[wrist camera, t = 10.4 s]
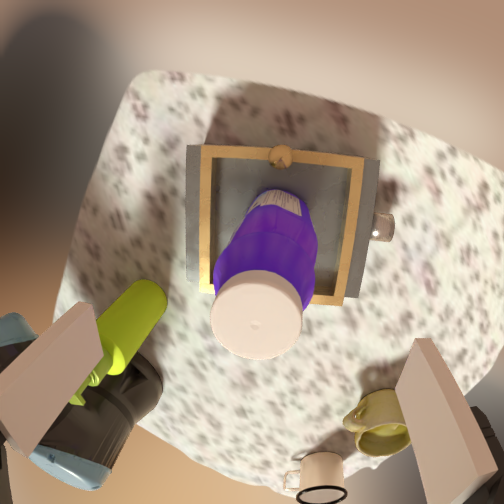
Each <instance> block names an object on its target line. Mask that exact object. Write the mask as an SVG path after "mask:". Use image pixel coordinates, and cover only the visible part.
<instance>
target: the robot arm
mask: <svg viewBox="0 0 504 504" xmlns="http://www.w3.org/2000/svg"><path fill="white" fill-rule="evenodd" d="M103 356H104V354H103V350H102V346H101V342H100V337H99V333H98V328H97V324H96V319H95V314H94V309H93V304H89V303H84V302H80V301H79V302H77V303H76V304H75V305H74V306H73V307H72V308H71V309H69V310H68V311H67V312H66V313H65V314H64V315H63V316H61V317H60V318H59V319H58V320H57V321H56V322H55V323H54V324H52V325H51V326H50V327H49V328H48V329H47V330H46V331H45V332H44V333H43V334H42V335H40V336H38V335H37V334H35V332H34V331H33V330H32V328H31V327H30V326H29V324H28V323H27V321H26V320H25V318H24V317H23V316H22V315H20V314H18V313H14V312H13V313H8V314H6V315H4V316H2V317H0V504H13V502H12V496H11V490H10V483H9V475H8V466H7V455H6V449H5V446H4V445H3V444H4V442H5V441H6V440H7V441H8V443H9V444H10V446H11V447H12V448H13V450H15V451H16V452H18V453H20V454H21V455H23V456H24V457H26V458H29V459H30V460H31V461H32V462H33V463H35V464H36V465H37V466H38V467H40V468H41V469H43V470H44V471H45V472H47V473H49V474H50V475H52V476H54V477H55V478H57V479H59V480H61V481H63V482H65V483H67V484H69V485H71V486H74V487H76V488H79V489H83V490H88V491H94V490H97V489H99V488H101V487H102V485H103V484H104V482H105V480H106V479H107V477H108V476H109V474H111V473H112V468H113V466H114V464H115V462H116V460H117V458H118V456H119V454H120V452H121V450H122V448H123V446H124V444H125V442H126V440H127V438H128V436H129V434H130V432H131V430H132V428H133V427H134V425H135V424H136V423H137V422H138V421H140V420H141V419H142V418H143V417H144V416H146V415H147V414H148V413H149V412H150V411H152V410H153V409H154V408H155V407H156V405H157V403H158V401H159V399H160V397H161V395H162V383H161V380H160V378H159V376H158V374H157V372H156V371H155V369H154V368H153V367H152V366H151V364H150V363H149V362H148V361H147V360H146V359H145V358H144V357H142V356H141V355H140V354H139V353H137V352H136V353H135V355H134V356H133V358H132V359H131V360H130V362H129V363H128V365H127V366H126V368H125V369H124V371H123V372H122V373H120V374H118V375H109V374H106V375H105V377H104V378H103V380H102V381H101V382H100V384H99V385H98V386H89V385H88V386H87V387H86V388H85V390H84V391H83V392H82V394H81V396H82V397H83V399H84V400H85V401H86V403H85V404H84V406H82V405H74V404H70V403H69V400H70V399H71V398H72V396H73V395H74V394H75V392H76V391H77V390H78V388H79V387H80V386H81V384H82V383H83V382H84V381H85V379H86V378H87V377H88V375H89V374H90V373H91V371H92V370H93V369H94V368H95V366H96V365H97V364H98V362H99V361H100V360H101V359H102V357H103ZM395 392H396V395H397V398H398V401H399V404H400V407H401V410H402V413H403V416H404V419H405V422H406V426H407V429H408V432H409V436H410V439H411V442H412V446H413V449H414V453H415V456H416V460H417V464H418V467H419V471H420V475H421V479H422V483H423V487H424V490H425V495H426V499H427V504H504V451H503V449H502V447H501V445H500V443H499V441H498V439H497V437H495V433H494V431H493V429H492V428H491V425H490V423H489V421H488V419H487V417H486V415H485V414H484V413H483V412H482V411H481V410H480V409H479V408H478V407H477V406H475V407H469V405H468V403H467V401H466V400H465V398H464V396H463V394H462V392H461V390H460V388H459V386H458V385H457V383H456V381H455V379H454V377H453V375H452V374H451V372H450V370H449V368H448V367H447V365H446V363H445V361H444V360H443V358H442V356H441V354H440V353H439V351H438V349H437V348H436V346H435V344H434V343H433V341H432V339H431V338H415V339H414V342H413V345H412V348H411V350H410V353H409V356H408V358H407V361H406V363H405V366H404V368H403V371H402V373H401V375H400V378H399V380H398V383H397V385H396V387H395Z"/></svg>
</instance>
